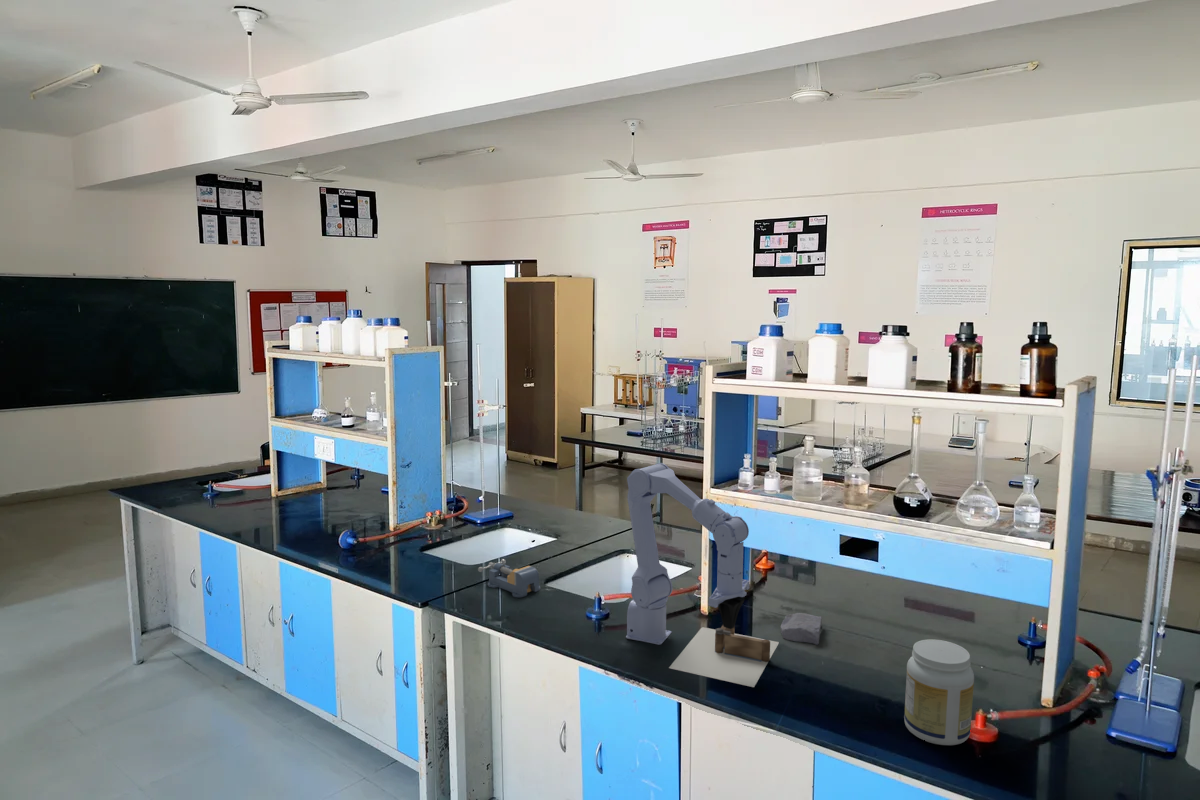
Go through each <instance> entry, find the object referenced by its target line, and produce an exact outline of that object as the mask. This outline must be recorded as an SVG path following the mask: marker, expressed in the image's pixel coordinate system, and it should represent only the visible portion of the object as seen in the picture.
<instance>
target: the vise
mask: <svg viewBox="0 0 1200 800" xmlns="http://www.w3.org/2000/svg"><path fill="white" fill-rule="evenodd" d="M506 562H507V561H506V559H504V558H502V559H501V560H500V561H498V562H496V563H495V562H492V561H490V562H489V563H488V565H487V566H484V567H483V566H479V567H478V568H477V571H478V572H479V573H482V572H484V570H486V569H488V568H489V569H488V578H489V579H488V582H487V586H488V587H489V588H493V589H494V588H500V589H503V590H505V591H507V592H510V593H511V595H512V597H514V598H524V597H526V596H528V593H530V592H533V593H534V592H535V593H536V592H539V591H541V585H540V575H539V571H538V570H537V568H536V567H535V566H532V565H526V566H523V567H520V568H514V569H512V568H511V566H510V565H507V564H506Z"/></svg>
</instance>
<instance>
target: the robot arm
mask: <svg viewBox="0 0 1200 800" xmlns="http://www.w3.org/2000/svg"><path fill="white" fill-rule="evenodd" d="M626 480H627V482H626V483H627V487H628V488H627V489H628V491H627V503H628V512H629V517H630V523H631V529H632V537H633V542H634V550H635V555H636V556H635V557H636V561H637V568H636V570H635V572H634V573H633V574H632V576H631V582H632V583H631V590H630V593H631V597H632V600H630V601H629V604H628V607H627V613H626V636H625V638H626V639H628V640H633V641H640V642H644V643H648V644H649V643H650V644H652V645H653V644H655V645H660V646H661V645H662V644H663V643H664V642H665V641H666V639H667V638H668V637H669V636H670V635H671V634H672V632H673V631H671V630H667V602H668V601H669V599H668V598H669V597H670V596H671V594H672V593H673V590H674V589H673V582H672V580H671V578H670V576H669V573H668V569H667V568H666V567H665V566H664V565H662V564H661V563H660V557H659V551H658V550H659V549H658V545H657V538H656V532H655V526H654V519H653V511H652V505H651V502H652V501H653V500H654V498H655V497H656V496H657V495H658V494H667V495H669V497H672V498H673V499H675V500H676V501H677V502H679V503H680V504H682V505H683V506H684V507H686V508H687V509H689V511H691V514H692V515H691V516H692V519H694V520H695V521H696V522H697V523H699V524H700V525H702V526H703V528H705V529H706V530H708V532H710V533H711V534H712V537H713V540H714V542H715V545H716V551H717V572H716V573H717V576H716V577H717V578H716V579H717V581H716V587H715V589H714V591H713V593H711V595H710V596H709V597H708V606H710V607H711V608H715V609H716V608H718V611H719V614H720V617H721V622H722V625H723V626H724V627H726V628H729V629H732V628H734V626H735V627H736V622H737V619H738V614H739V612H740V610H741V607H742V605H743V604H744V602H745V596H747V590H750V580H748V579H743V575H744V574H743V573H744V565H743V564H744V544H745V543H744V541H746V540H747V538H748V537H749V531H750V528H749V526H748V523H747V522H746V521H745V520H744V519H743V518H742V517H741V516H737V515H735V516H733V515H731V514H730V513H729V512H726V511H725V510H724V509H722V508H721V507H720V506H718V505H717V504H716V501H715V500H713V499H710V498H702V499H701V498H700V497H699V496H698V495H697V494H696V493H695V492H694V491H693V490H691V489H690V488H689V487H688V486H687V485H686V484H684V483H683V482H682V480H680V479H679V478H678V477H677V476H676V475H675V471H674V469H671V468H670V467H669V466H668V465H667V464H665V463H663V462H659V463H655V464H653V465H649V466H645V467H642V468H635V469H634V470H632V471H631V472H630V474H628V476H627V477H626Z"/></svg>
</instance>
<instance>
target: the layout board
mask: <svg viewBox="0 0 1200 800" xmlns="http://www.w3.org/2000/svg"><path fill="white" fill-rule="evenodd" d="M715 633H716V628H715V629H714V628H709V627H701V628H699V630H698V631H697V632H696V634H695V635H694V636H693V638H691V640H690V641H689V642H688V644H687V645H686V646H685V648H684V649H683V650H682V651H681V652H680V654H679V655H678V656H677V657H676V658H675V660H674V661H673V662H672V663H671V665H670V666H669V667H668V669H671V670H676V671H679V672H684V673H688V674H693V675H698V676H701V677H706V678H710V679H714V680H719V681H725V682H729V683H733V684H737V685H742V686H747V687H751V688H755V686H756V685H757V683H758V681H759V679H760V677H761V676H762V674H763V672H764V671H765V668H766V666H767V665H768V663H769V662H770V661H767V662H765V661H762V660H759V659H754V658H748V657H743V656H738V655H733V654H728V653H725V647H724V648H723V653H716V652H715ZM734 635H739V636H745V637H750V638H756V639H761V640H766V639H765V638H764V639H763V638H760V637H755V636H750V635H746V634H745V635H743V634H739V633H734ZM768 640H769V641H770V659H771V658H772V656H773V655H774V653H775V651H776V649H777V647H778V645H779V644H780V642H779V641H775V640H770V639H768Z"/></svg>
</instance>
